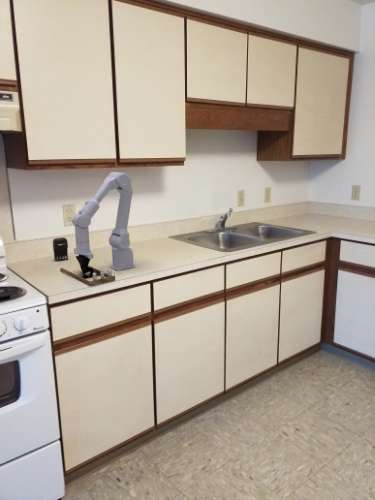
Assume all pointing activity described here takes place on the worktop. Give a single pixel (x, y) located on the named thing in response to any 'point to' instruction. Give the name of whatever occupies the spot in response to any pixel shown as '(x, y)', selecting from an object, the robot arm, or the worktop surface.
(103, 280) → the loading bay
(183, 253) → the worktop surface
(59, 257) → the battery charger
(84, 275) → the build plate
